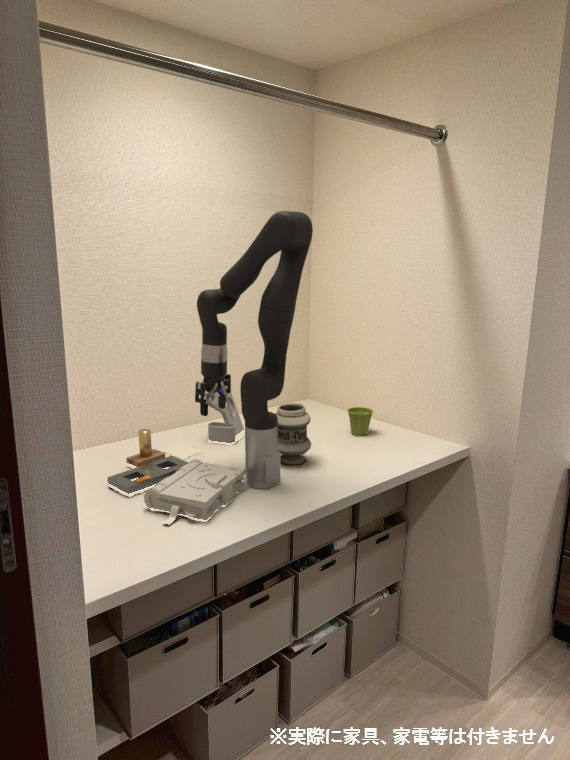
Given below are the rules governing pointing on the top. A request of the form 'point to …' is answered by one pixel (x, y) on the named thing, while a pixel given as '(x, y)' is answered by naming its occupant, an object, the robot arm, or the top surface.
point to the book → (196, 489)
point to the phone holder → (231, 419)
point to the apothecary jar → (293, 434)
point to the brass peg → (145, 443)
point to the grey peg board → (146, 474)
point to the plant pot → (359, 420)
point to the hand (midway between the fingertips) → (213, 411)
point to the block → (140, 461)
